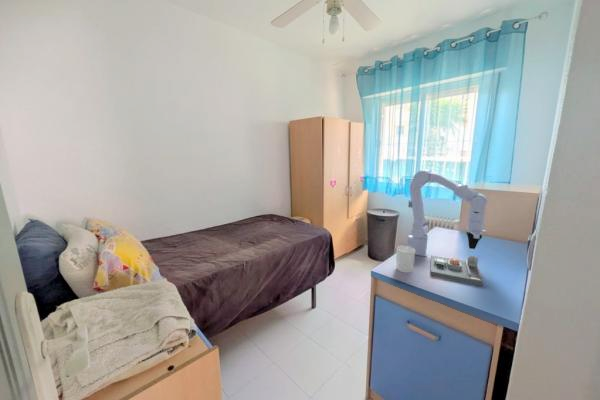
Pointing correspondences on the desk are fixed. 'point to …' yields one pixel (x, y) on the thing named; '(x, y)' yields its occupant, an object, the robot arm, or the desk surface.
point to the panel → (455, 271)
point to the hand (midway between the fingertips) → (471, 248)
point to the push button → (454, 261)
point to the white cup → (405, 258)
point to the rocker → (440, 261)
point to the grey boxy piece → (472, 261)
